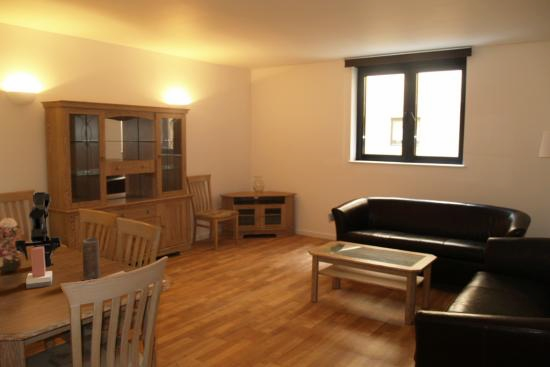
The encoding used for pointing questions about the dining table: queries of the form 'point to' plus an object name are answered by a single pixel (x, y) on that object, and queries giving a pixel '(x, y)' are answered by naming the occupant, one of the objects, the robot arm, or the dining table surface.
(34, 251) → the top brick
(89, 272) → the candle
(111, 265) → the dining table surface
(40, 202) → the robot arm
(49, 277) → the base block
